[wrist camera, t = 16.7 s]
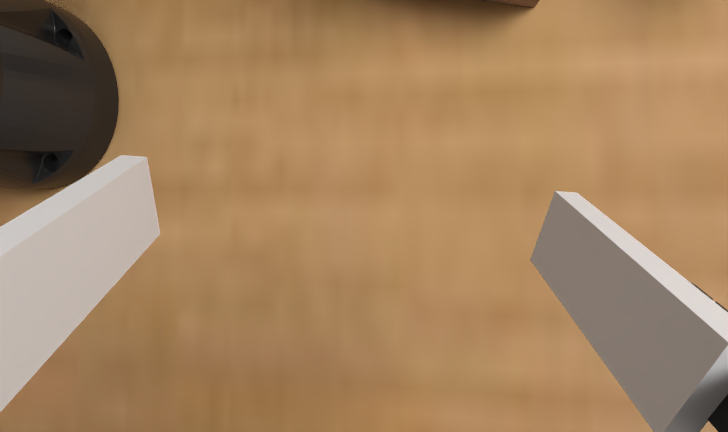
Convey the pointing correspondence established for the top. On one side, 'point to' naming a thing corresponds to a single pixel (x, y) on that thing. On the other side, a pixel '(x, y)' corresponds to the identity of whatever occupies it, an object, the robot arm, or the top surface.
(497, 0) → the walnut block
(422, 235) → the top surface
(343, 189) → the top surface
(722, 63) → the top surface
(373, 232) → the top surface
